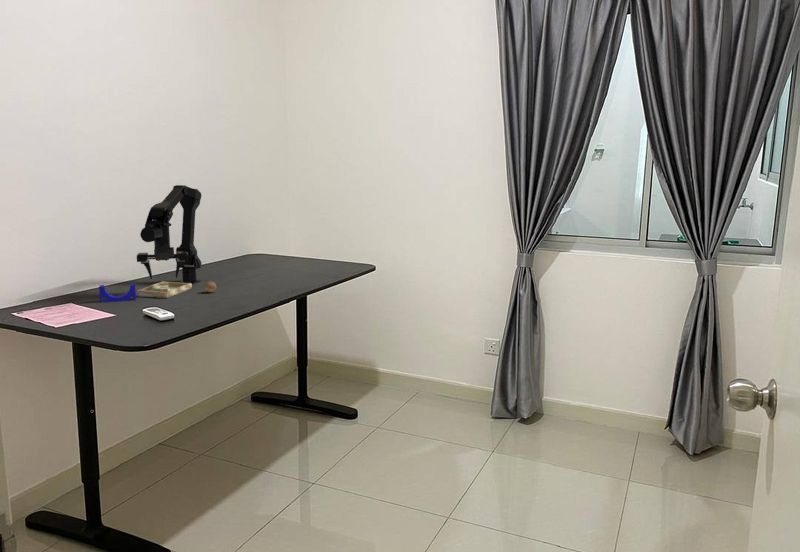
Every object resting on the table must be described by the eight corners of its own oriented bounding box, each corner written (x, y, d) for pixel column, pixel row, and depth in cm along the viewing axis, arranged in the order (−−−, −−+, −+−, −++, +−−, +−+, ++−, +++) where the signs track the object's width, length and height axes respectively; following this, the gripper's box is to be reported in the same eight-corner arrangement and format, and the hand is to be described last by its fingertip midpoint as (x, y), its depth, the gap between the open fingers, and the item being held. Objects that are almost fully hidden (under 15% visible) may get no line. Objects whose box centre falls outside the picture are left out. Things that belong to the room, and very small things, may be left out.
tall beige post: (161, 282, 256) (159, 288, 244) (168, 281, 257) (167, 288, 245) (161, 288, 256) (160, 295, 244) (168, 288, 257) (167, 295, 245)
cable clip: (136, 298, 243) (135, 282, 242) (135, 300, 239) (134, 285, 238) (101, 300, 239) (100, 284, 238) (100, 302, 235) (99, 286, 234)
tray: (162, 286, 262) (162, 281, 262) (191, 288, 260) (191, 283, 259) (136, 296, 245) (136, 290, 245) (167, 298, 243) (166, 292, 242)
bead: (208, 290, 257) (207, 280, 256) (218, 291, 256) (218, 280, 255) (202, 293, 252) (202, 282, 251) (213, 293, 251) (212, 282, 251)
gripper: (134, 242, 238) (137, 283, 241) (187, 241, 244) (189, 281, 247) (136, 238, 248) (138, 277, 251) (187, 237, 254) (189, 275, 257)
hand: (164, 278), depth 251 cm, fingers open, 9 cm apart
